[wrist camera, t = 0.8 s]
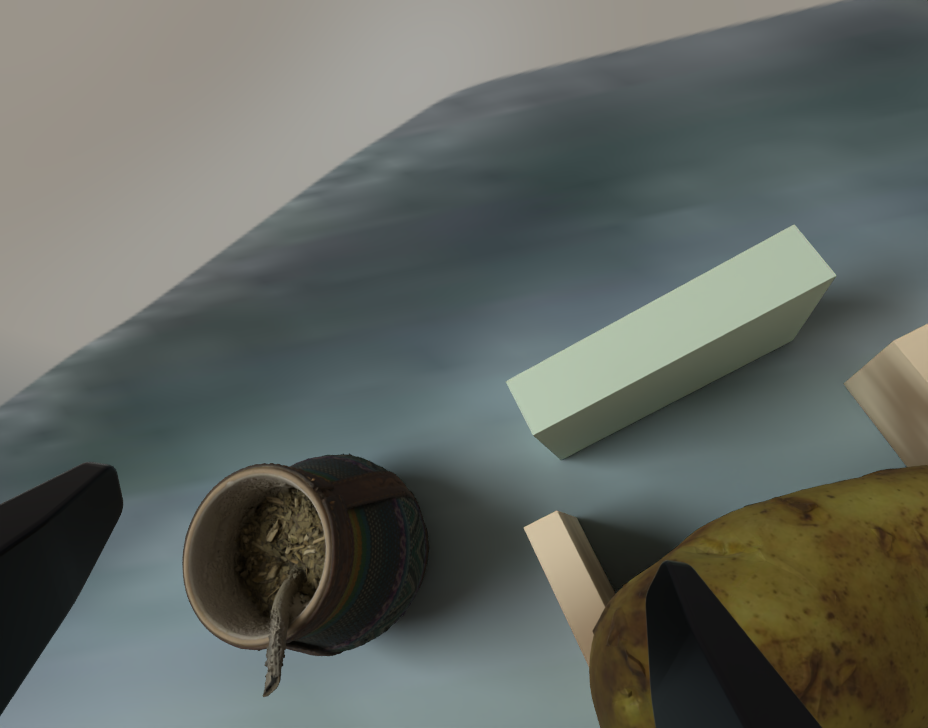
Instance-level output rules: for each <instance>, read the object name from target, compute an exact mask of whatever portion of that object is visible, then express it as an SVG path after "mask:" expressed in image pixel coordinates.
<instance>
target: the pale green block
mask: <svg viewBox="0 0 928 728" xmlns="http://www.w3.org/2000/svg"><path fill="white" fill-rule="evenodd" d="M835 277H836V274H835V273H834V272H833V271H832V269H831V268H830V267H829V266H828V265H827V263H826V262H825V261H824V260H823V259H822V257H821V256H820V255H819V254H818V253H817V251H816V250H815V249H814V248H813V247H812V245H811V244H810V243H809V242H808V241H807V239H806V238H805V237H804V236H803V234H802V233H801V232H800V231H799V230H798V228H797V227H796V226H795V225H792V226H791V227H789V228H787V229H785V230H783V231H781V232H780V233H778V234H776V235H774V236H772V237H770V238H768V239H767V240H765V241H763V242H761V243H759V244H757V245H756V246H754V247H752V248H750V249H748V250H746V251H745V252H743V253H741V254H739V255H737V256H735V257H734V258H732V259H730V260H728V261H726V262H724V263H723V264H721V265H719V266H717V267H715V268H713V269H712V270H710V271H708V272H706V273H704V274H702V275H700V276H699V277H697V278H695V279H693V280H691V281H689V282H688V283H686V284H684V285H682V286H680V287H678V288H677V289H675V290H673V291H671V292H669V293H667V294H666V295H664V296H662V297H660V298H658V299H656V300H655V301H653V302H651V303H649V304H647V305H645V306H643V307H642V308H640V309H638V310H636V311H634V312H632V313H631V314H629V315H627V316H625V317H623V318H621V319H620V320H618V321H616V322H614V323H612V324H610V325H609V326H607V327H605V328H603V329H601V330H599V331H598V332H596V333H594V334H592V335H590V336H588V337H587V338H585V339H583V340H581V341H579V342H577V343H575V344H574V345H572V346H570V347H568V348H566V349H564V350H563V351H561V352H559V353H557V354H555V355H553V356H552V357H550V358H548V359H546V360H544V361H542V362H541V363H539V364H537V365H535V366H533V367H531V368H530V369H528V370H526V371H524V372H522V373H520V374H519V375H517V376H515V377H513V378H511V379H509V380H507V381H506V383H507V385H508V387H509V389H510V391H511V393H512V395H513V397H514V399H515V401H516V403H517V405H518V406H519V408H520V410H521V412H522V414H523V416H524V418H525V420H526V422H527V424H528V426H529V428H530V430H531V432H532V434H533V436H535V437H536V438H537V439H538V440H539V441H540V442H541V443H542V444H544V445H545V446H546V447H547V448H548V449H549V450H550V451H551V452H553V453H554V454H555V455H556V456H557V457H558V458H559V459H560V460H562V459H564V458H566V457H568V456H570V455H572V454H574V453H576V452H578V451H580V450H582V449H584V448H586V447H588V446H589V445H591V444H593V443H595V442H597V441H599V440H601V439H603V438H605V437H607V436H609V435H611V434H613V433H615V432H617V431H619V430H620V429H622V428H624V427H626V426H628V425H630V424H632V423H634V422H636V421H638V420H640V419H642V418H644V417H646V416H648V415H650V414H651V413H653V412H655V411H657V410H659V409H661V408H663V407H665V406H667V405H669V404H671V403H673V402H675V401H677V400H679V399H680V398H682V397H684V396H686V395H688V394H690V393H692V392H694V391H696V390H698V389H700V388H702V387H704V386H706V385H708V384H710V383H711V382H713V381H715V380H717V379H719V378H721V377H723V376H725V375H727V374H729V373H731V372H733V371H735V370H737V369H739V368H741V367H742V366H744V365H746V364H748V363H750V362H752V361H754V360H756V359H758V358H760V357H762V356H764V355H766V354H768V353H770V352H771V351H773V350H775V349H777V348H779V347H781V346H783V345H785V344H787V343H789V342H791V341H793V340H794V338H795V337H796V335H797V334H798V332H799V331H800V329H801V328H802V326H803V325H804V323H805V322H806V320H807V319H808V317H809V316H810V314H811V313H812V311H813V310H814V308H815V307H816V305H817V304H818V302H819V301H820V299H821V298H822V296H823V295H824V293H825V292H826V290H827V289H828V287H829V286H830V284H831V283H832V281H833V280H834V278H835Z"/></svg>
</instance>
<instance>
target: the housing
mask: <svg viewBox="0 0 928 728" xmlns="http://www.w3.org/2000/svg"><path fill="white" fill-rule="evenodd" d="M844 385H845V386H846V388H847V389H848V390H849V392H850V393H851V394H852V396H853V397H854V398H855V400H856V401H857V402H858V403H859V405H860V406H861V407H862V409H863V410H864V411H865V413H866V414H867V415H868V416H869V418H870V419H871V420H872V422H873V423H874V424H875V426H876V427H877V428H878V430H879V431H880V432H881V433H882V435H883V436H884V437H885V439H886V440H887V441H888V443H889V444H890V445H891V447H892V448H893V449H894V450H895V452H896V453H897V454H898V456H899V457H900V458H901V460H902V461H903V462H904V464H905V465H906V466H907V467H911V466H921V465H928V324H926V325H924V326H922V327H920V328H918V329H916V330H914V331H912V332H910V333H908V334H906V335H904V336H902V337H900V338H898V339H896V340H894V341H893V342H891V343H890V344H889V345H888V346H887V347H886V348H884V349H883V350H882V351H881V352H880V353H879V354H877V355H876V356H875V357H874V358H873V359H872V360H870V361H869V362H868V363H867V364H866V365H865V366H864V367H862V368H861V369H860V370H859V371H858V372H857V373H855V374H854V375H853V376H852V377H851V378H850V379H848V380H847V381H846V382H845V383H844ZM524 530H525V532H526V534H527V536H528V538H529V540H530V542H531V544H532V547H533V549H534V551H535V553H536V555H537V557H538V559H539V561H540V564H541V566H542V568H543V570H544V572H545V574H546V576H547V578H548V581H549V583H550V585H551V587H552V589H553V591H554V593H555V596H556V598H557V600H558V602H559V604H560V606H561V608H562V610H563V613H564V615H565V617H566V619H567V621H568V623H569V625H570V627H571V630H572V632H573V634H574V636H575V638H576V640H577V642H578V644H579V647H580V649H581V651H582V653H583V655H584V657H585V659H586V661H587V664H588V666H589V664H590V652H591V646H592V641H593V636H594V634H593V629H594V627H595V625H596V623H597V622H598V620H599V618H600V616H601V614H602V612H603V610H604V608H605V607H606V605H607V604H608V602H609V601H610V600H611V598H612V597H613V596H614V595H615V592H614V590H613V588H612V586H611V584H610V582H609V580H608V578H607V576H606V574H605V572H604V570H603V568H602V566H601V564H600V562H599V561H598V559H597V557H596V555H595V553H594V551H593V549H592V547H591V545H590V543H589V541H588V539H587V537H586V535H585V533H584V531H583V529H582V527H581V525H580V523H579V521H578V519H577V517H574V516H571V515H568V514H566V513H563V512H560V511H555V512H553V513H551V514H549V515H547V516H545V517H543V518H541V519H539V520H537V521H535V522H533V523H531V524H529V525H527V526H525V527H524Z"/></svg>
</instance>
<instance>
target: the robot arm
mask: <svg viewBox="0 0 928 728" xmlns="http://www.w3.org/2000/svg"><path fill="white" fill-rule="evenodd" d="M122 509H123V498H122V493H121V488H120V484H119V479H118V475H117V471H116V469H115V468H114V467H113V466H111V465H107V464H101V463H95V462H86V463H83V464H81V465H79V466H77V467H74V468H72V469H70V470H68V471H66V472H64V473H62V474H60V475H58V476H56V477H54V478H52V479H50V480H48V481H46V482H44V483H42V484H40V485H38V486H36V487H34V488H32V489H30V490H28V491H26V492H24V493H22V494H20V495H18V496H16V497H14V498H12V499H10V500H8V501H6V502H4V503H2V504H0V716H1V714H2V713H3V711H4V710H5V708H6V707H7V705H8V703H9V702H10V700H11V699H12V697H13V696H14V694H15V693H16V691H17V690H18V688H19V687H20V685H21V684H22V682H23V681H24V679H25V678H26V676H27V675H28V673H29V672H30V670H31V669H32V667H33V666H34V664H35V663H36V661H37V659H38V658H39V656H40V655H41V653H42V652H43V650H44V649H45V647H46V646H47V644H48V643H49V641H50V640H51V638H52V637H53V635H54V634H55V632H56V631H57V629H58V628H59V626H60V625H61V623H62V622H63V620H64V619H65V617H66V615H67V614H68V612H69V611H70V609H71V607H72V606H73V604H74V603H75V601H76V599H77V597H78V596H79V594H80V592H81V590H82V588H83V587H84V585H85V583H86V581H87V579H88V577H89V575H90V573H91V571H92V569H93V567H94V566H95V564H96V562H97V560H98V558H99V556H100V554H101V552H102V550H103V548H104V546H105V544H106V542H107V541H108V539H109V537H110V535H111V533H112V531H113V529H114V527H115V525H116V523H117V521H118V519H119V517H120V515H121V513H122ZM646 623H647V640H648V657H649V673H650V688H651V700H652V707H653V714H654V720H655V726H656V728H822V726H821V725H820V724H819V723H818V721H817V720H816V719H815V718H814V716H813V715H812V714H811V713H810V712H809V710H808V709H807V708H806V707H805V705H804V704H803V703H802V702H801V700H800V699H799V698H798V697H797V695H796V694H795V693H794V692H793V691H792V689H791V688H790V687H789V686H788V684H787V683H786V682H785V681H784V679H783V678H782V677H781V676H780V675H779V673H778V672H777V671H776V670H775V668H774V667H773V666H772V665H771V663H770V662H769V661H768V660H767V658H766V657H765V656H764V655H763V654H762V652H761V651H760V650H759V649H758V647H757V646H756V645H755V644H754V642H753V641H752V640H751V639H750V637H749V636H748V635H747V634H746V633H745V631H744V630H743V629H742V628H741V626H740V625H739V624H738V623H737V621H736V620H735V619H734V618H733V616H732V615H731V614H730V613H729V612H728V610H727V609H726V608H725V607H724V605H723V604H722V603H721V602H720V600H719V599H718V598H717V597H716V595H715V594H714V593H713V592H712V591H711V589H710V588H709V587H708V586H707V584H706V583H705V582H704V581H703V579H702V578H701V577H700V576H699V574H698V573H697V572H696V571H695V570H694V568H693V567H692V566H690V565H689V564H687V563H682V562H676V561H670V560H665V561H663V562H662V563H661V565H660V566H659V569H658V571H657V573H656V575H655V577H654V579H653V581H652V583H651V585H650V587H649V589H648V591H647V595H646Z"/></svg>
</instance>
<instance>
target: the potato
mask: <svg viewBox="0 0 928 728" xmlns="http://www.w3.org/2000/svg"><path fill="white" fill-rule="evenodd" d="M665 560H670V561H676V562H682V563H687V564H689V565H690V566H692V567H693V568H694V570H695V571H696V572H697V573H698V574H699V576H700V577H701V578H702V579H703V581H704V582H705V583H706V584H707V586H708V587H709V588H710V589H711V591H712V592H713V593H714V594H715V595H716V597H717V598H718V599H719V600H720V602H721V603H722V604H723V605H724V607H725V608H726V609H727V610H728V612H729V613H730V614H731V615H732V616H733V618H734V619H735V620H736V621H737V623H738V624H739V625H740V626H741V628H742V629H743V630H744V631H745V633H746V634H747V635H748V636H749V637H750V639H751V640H752V641H753V642H754V644H755V645H756V646H757V647H758V649H759V650H760V651H761V652H762V654H763V655H764V656H765V657H766V658H767V660H768V661H769V662H770V663H771V665H772V666H773V667H774V668H775V670H776V671H777V672H778V673H779V675H780V676H781V677H782V678H783V679H784V681H785V682H786V683H787V684H788V686H789V687H790V688H791V689H792V691H793V692H794V693H795V694H796V695H797V697H798V698H799V699H800V700H801V702H802V703H803V704H804V705H805V707H806V708H807V709H808V710H809V712H810V713H811V714H812V715H813V716H814V718H815V719H816V720H817V721H818V723H819V724H820V725H821V726H822V728H928V465H921V466H911V467H905V468H900V469H886V470H880V471H876V472H873V473H870V474H867V475H864V476H862V477H859V478H854V479H849V480H843V481H839V482H835V483H832V484H825V485H821V486H817V487H813V488H809V489H804V490H800V491H797V492H793V493H790V494H787V495H783V496H780V497H775V498H772V499H770V500H767V501H764V502H759V503H755V504H751V505H747V506H745V507H743V508H741V509H738V510H736V511H733V512H730V513H728V514H726V515H724V516H722V517H720V518H718V519H716V520H714V521H712V522H710V523H708V524H706V525H704V526H703V527H701V528H699V529H697V530H696V531H695V532H693V533H692V534H691V535H690V536H688V537H687V538H686V539H685V540H684V541H683V542H682V543H681V544H680V545H678V546H677V547H676V548H675V549H673V550H672V551H671V552H669V553H668V554H667V555H665V556H664V557H663V558H662V559H661V560H659V561H658V562H656V563H655V564H653V565H652V566H651V567H649V568H648V569H646V570H645V571H643V572H642V573H640V574H639V575H637V576H636V577H634V578H633V579H632V580H630V581H629V582H628V583H627V584H624V585H623V588H621V589H620V590H619V591H618V592H617V593H616V594H615V595H614V596H613V597H612V598H611V600H610V601H609V602H608V604H607V605H606V607H605V608H604V610H603V612H602V614H601V616H600V618H599V620H598V622H597V623H596V625H595V627H594V629H593V634H594V636H593V641H592V646H591V652H590V664H589V674H590V688H591V695H592V699H593V703H594V707H595V711H596V714H597V718H598V721H599V725H600V728H656V726H655V720H654V714H653V707H652V700H651V688H650V673H649V657H648V640H647V623H646V595H647V591H648V589H649V587H650V585H651V583H652V581H653V579H654V577H655V575H656V573H657V571H658V569H659V566H660V565H661V563H662V562H663V561H665Z"/></svg>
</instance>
